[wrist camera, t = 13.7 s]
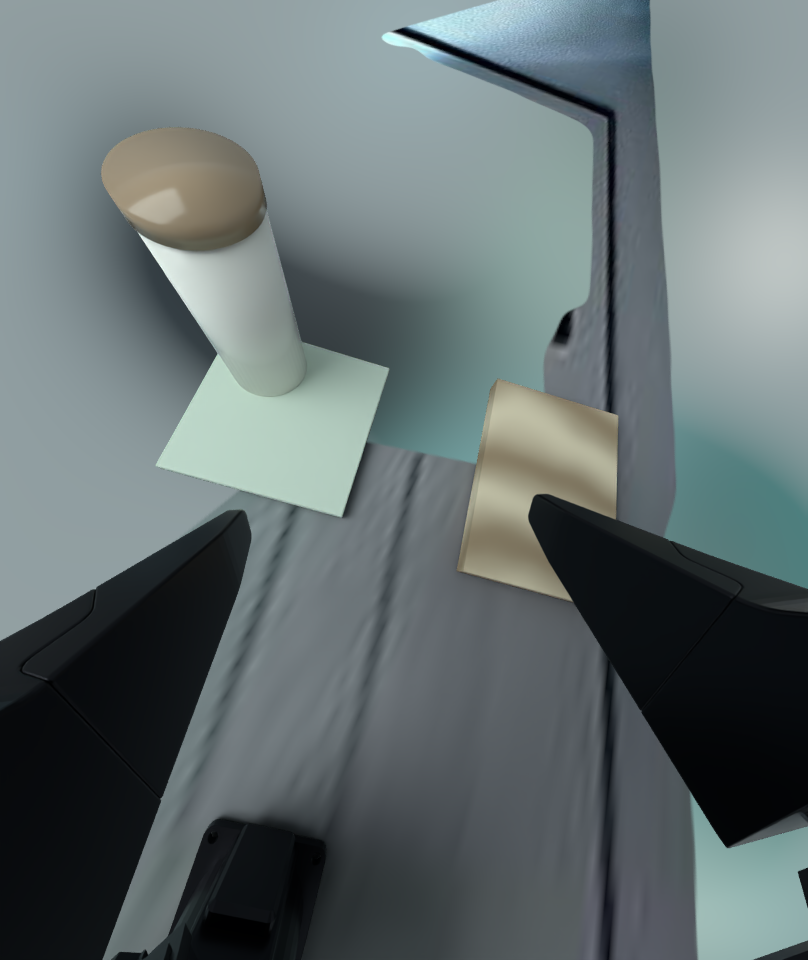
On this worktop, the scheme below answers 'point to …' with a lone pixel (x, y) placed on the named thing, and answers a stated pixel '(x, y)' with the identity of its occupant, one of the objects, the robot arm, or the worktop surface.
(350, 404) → the mat
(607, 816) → the worktop surface
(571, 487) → the board
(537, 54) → the worktop surface
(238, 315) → the jar
